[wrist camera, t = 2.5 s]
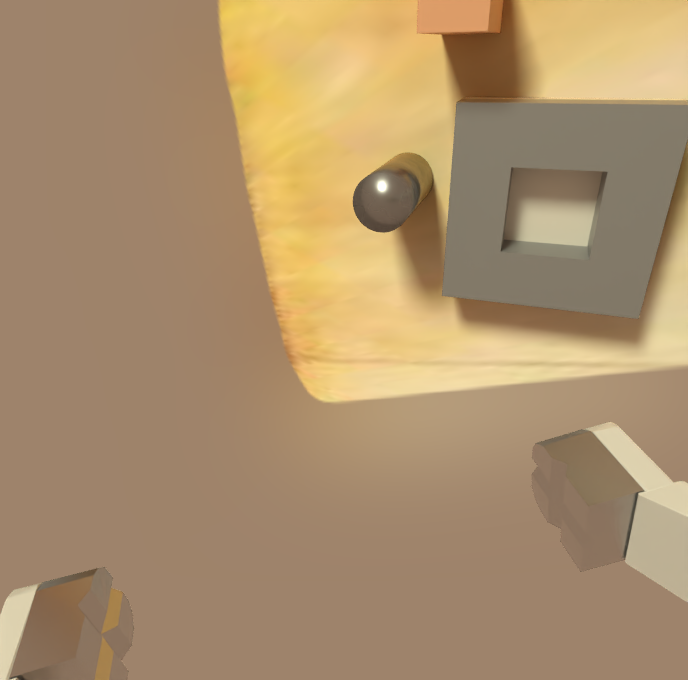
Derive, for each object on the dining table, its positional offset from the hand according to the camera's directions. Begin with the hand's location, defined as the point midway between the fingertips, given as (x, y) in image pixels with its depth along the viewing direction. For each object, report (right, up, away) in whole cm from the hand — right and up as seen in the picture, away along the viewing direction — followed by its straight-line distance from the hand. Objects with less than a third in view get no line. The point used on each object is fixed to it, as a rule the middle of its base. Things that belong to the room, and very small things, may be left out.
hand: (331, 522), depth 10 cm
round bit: (+5, +16, +33) cm, 37 cm away
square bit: (+9, +26, +26) cm, 38 cm away
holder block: (+16, +14, +30) cm, 37 cm away
